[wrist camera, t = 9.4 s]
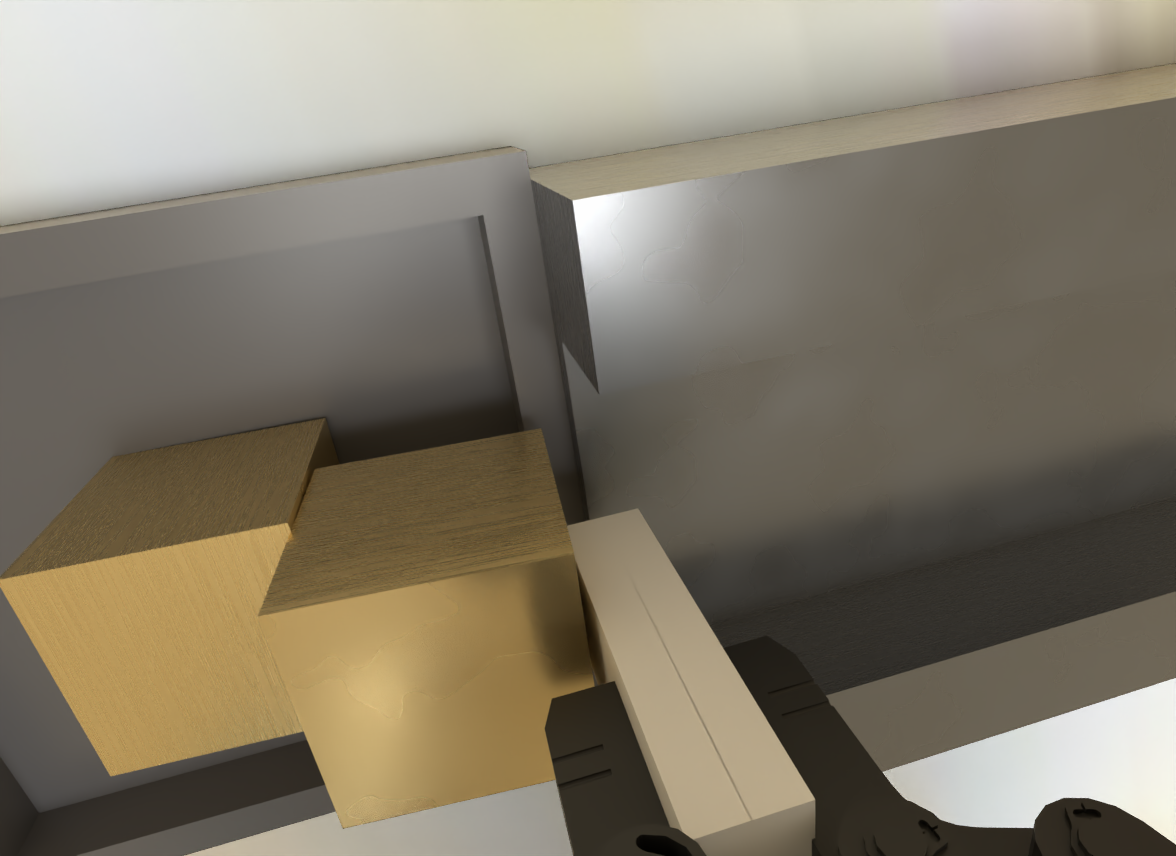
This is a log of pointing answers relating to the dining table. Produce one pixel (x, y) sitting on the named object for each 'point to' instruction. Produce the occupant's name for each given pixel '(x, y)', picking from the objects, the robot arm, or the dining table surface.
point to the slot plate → (896, 393)
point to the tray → (248, 417)
